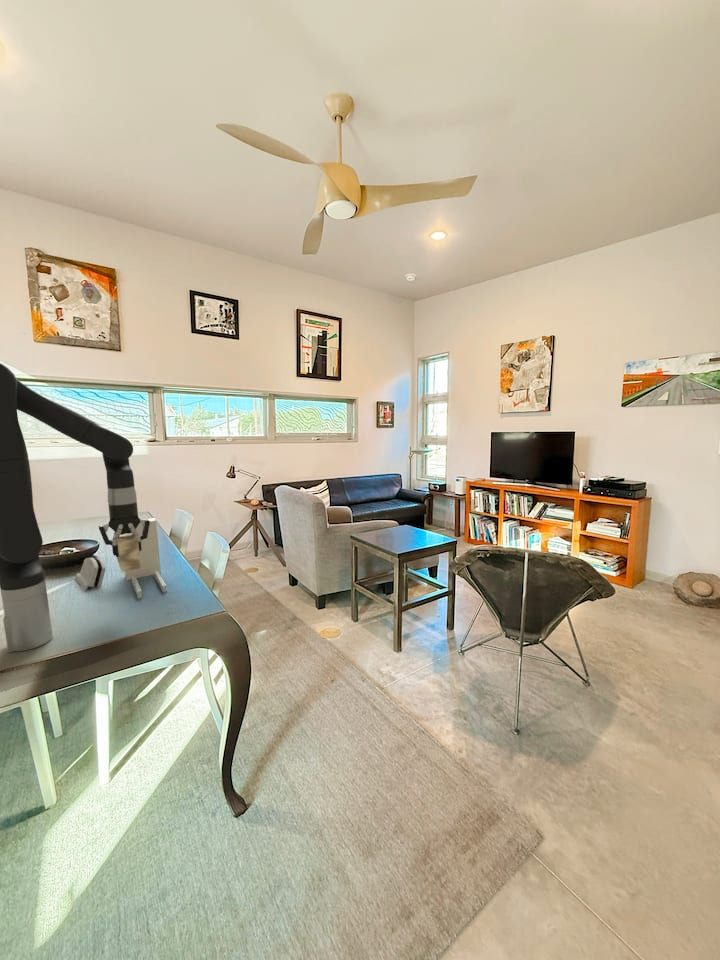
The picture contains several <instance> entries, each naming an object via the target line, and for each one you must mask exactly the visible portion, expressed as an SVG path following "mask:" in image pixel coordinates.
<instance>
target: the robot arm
mask: <svg viewBox="0 0 720 960" xmlns="http://www.w3.org/2000/svg"><path fill="white" fill-rule="evenodd" d="M18 411H19V412H22V413H24V414H26V415H28V416H30V417H32V418H33V419H36V420H38V421H40V422H42V423H43V424H45V425H47V426H49V427H50V428H53V429H54V430H56V431H57V432H59V433H61V434H63V435H64V436H66V437H69V438H71V439H72V440H74V441H77V442H78V443H81V444H83V445H86V446H89V447H91V448H93V449H95V450H96V451H99V452H100V453H102V454H101V455H102V458H103V464H104V467H105V470H106V485H107V503H108V512H109V513H108V514H109V521H108V523H107V524H106V523H105V524H103V525H102V524H100V525H98V530H99V532H100V534H101V537H102V540H103V541H104V545H106V546H108V545H110V546H112V555H113V556H115V558H117V557H119V555H118V545H117V538H119V537H120V535H123V534H126V533H133V535H134V536H136V537H137V539H138V544H139V551H141V541H142V540H143V539H146V538H147V535H148V530H149V524H150V521H149V520H148V519H149V518H145V519H146V520H143V519H141V518H140V517H139V511H138V510H139V509H138V502H137V500H138V499H137V492H136V488H135V477H134V472H133V469H132V468H131V465H130V459H129V458H130V457H131V456H132V455H133V452H134V447H133V444H132V442H131V441H130V439H127V438H126V437H124V436H122V435H120V434H118V433H116V432H114V431H111V430H109V428H108V429H107V428H105V427H103V426H101V425H100V424H98V423H97V422H95V421H93V420H92V419H89V418H88V417H86V416H85V415H83V414H81V413H79V412H78V411H75V410H73V409H71V408H69V407H67V406H65V405H63V404H60V403H59V402H55V401H54V400H51V399H50V398H48V397H45V396H43V395H41V394H40V393H38V392H36V391H35V390H33V389H31V388H30V387H28V386H27V385H26V384H24V383H23V382H21V381H20V380H19V379H17V377H16V375H15V373H14V372H13V371H12V369H10V368H9V367H8V366H7V365H5V364H3V363H1V362H0V595H1V601H2V609H3V613H4V617H3V620H2V621H3V626H4V633H5V634H4V635H5V640H6V646H7V647H6V648H7V652H8V653H13V652H24V651H30V650H33V649H35V648H38V647H42V646H43V645H45V644H47V643H49V642H50V641H51V640H52V639H53V637H54V636H53V628H52V627H53V626H52V621H51V613H50V605H49V597H48V591H47V583H46V575H45V570H44V568H43V566H42V562H41V559H40V553H41V550H42V549H43V543H44V542H43V537H42V533H41V530H40V528H39V524H38V521H37V517H36V514H35V513H36V512H35V508H34V499H33V497H34V495H33V484H32V474H31V467H30V459H29V454H28V449H27V446H26V442H25V438H24V434H23V432H22V429H21V426H20V422H19V418H18ZM139 523H141V524H142V526H143V532H142V535H140V536H139V535H138V533H137V531H136V530H135V529H136V528H137V526H138V525H139ZM109 528H110V529H111V530H113V531H114V532H113V537H112V539H109V536H108V535H107V534H108V533H107V532H108V531H109Z"/></svg>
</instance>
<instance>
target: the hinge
mask: <svg viewBox="0 0 720 960" xmlns="http://www.w3.org/2000/svg"><path fill="white" fill-rule="evenodd" d="M105 573H106V566H105V563H104V561H103V560H102V559H101V558H97V557H86V558H85V559H84V560H83V562H82V567H81V568H80V572H78V573H76V574H75V577H74V580H75V581H76V582H77V583H78V584H79V586H80V587H81V588H82V590H84V591H88V588H89V587H92V588H94V587H95V586H96V587H97V588H100V587H102V584H103V580H104V576H105Z"/></svg>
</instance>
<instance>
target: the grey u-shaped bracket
mask: <svg viewBox="0 0 720 960" xmlns="http://www.w3.org/2000/svg"><path fill="white" fill-rule="evenodd" d="M146 519H148V520H149V521H150V524H149V530H148V535H147V538H146V539H143V540H142V541H141V551H139V555H140V566H141V568H139V569H134V570H129V571H124V577H125V580H126V581H130V580H131V582H132V585H133V588H134V591H135V593H136V596H137V599H143V592H142V589H141V586H140V584H139V581H138V579H141V578H143V577H149V576H154V578H155V581H156V582H157V584H158V586H159V588H160V589H161V592H162V593H163V594H165V593H167V592H168V591H167V584H166V583H165V581H164V579H163V577H162V576H161V572H162V570H161V561H160V559H161V558H160V549H159V538H158V526H157V519H155V517H153V518H151V517H150V518H143V519H142V520H146ZM135 530H136V531H137V533H138V535H139V536H140V535H142V532H143V526H142V524H141V523H139V525H138V526H137V528H136V529H135Z"/></svg>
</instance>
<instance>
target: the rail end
mask: <svg viewBox="0 0 720 960" xmlns="http://www.w3.org/2000/svg"><path fill="white" fill-rule="evenodd" d="M117 545H118V555H119V557H116V559H117V563H118V566H119V569H120V571H121V573H123V572H124V573H125V571H129V570H134V569H139V568H141V566H140V555H139V544H138V539H137V537H136V536H134V535H133V533H126V534H123V535H120V537H119V538H117Z"/></svg>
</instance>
